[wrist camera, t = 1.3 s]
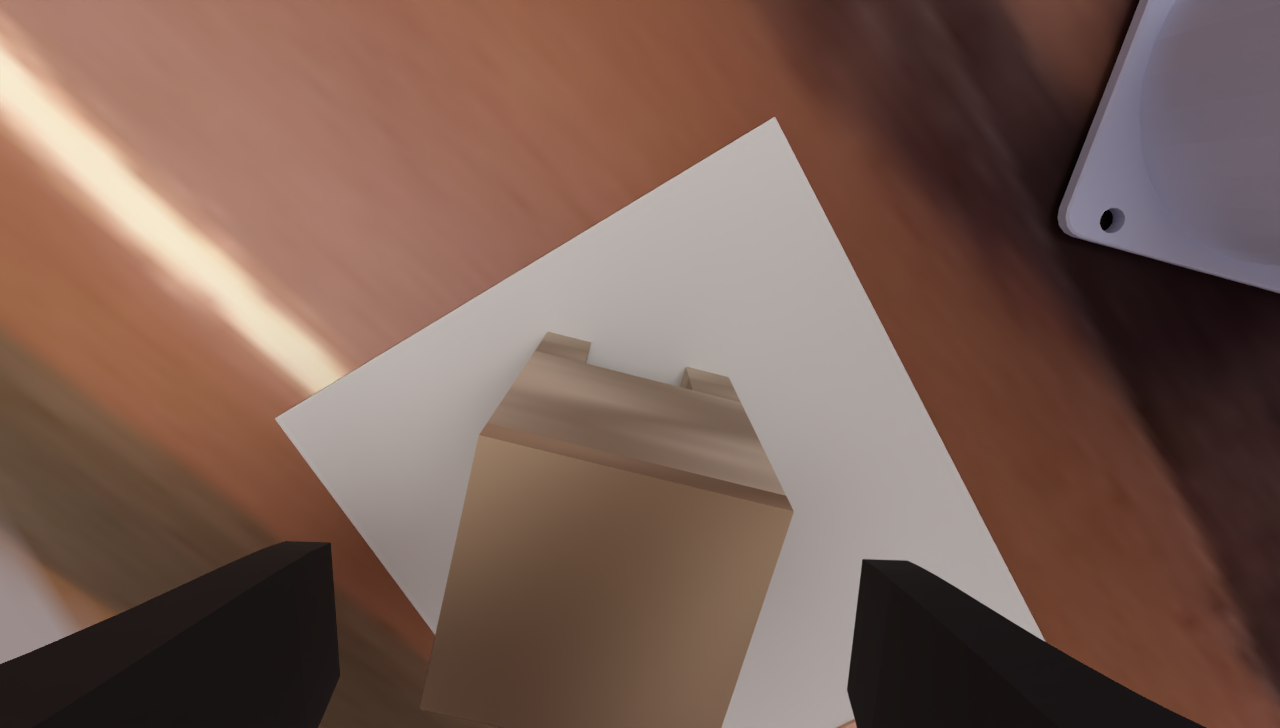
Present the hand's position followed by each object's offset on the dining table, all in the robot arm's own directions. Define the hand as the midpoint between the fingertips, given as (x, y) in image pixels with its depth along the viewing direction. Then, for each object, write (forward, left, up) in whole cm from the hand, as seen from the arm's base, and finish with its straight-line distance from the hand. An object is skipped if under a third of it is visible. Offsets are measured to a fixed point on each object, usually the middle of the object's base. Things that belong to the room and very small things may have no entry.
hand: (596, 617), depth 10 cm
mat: (-5, +5, -7) cm, 10 cm away
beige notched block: (0, 0, -7) cm, 7 cm away
